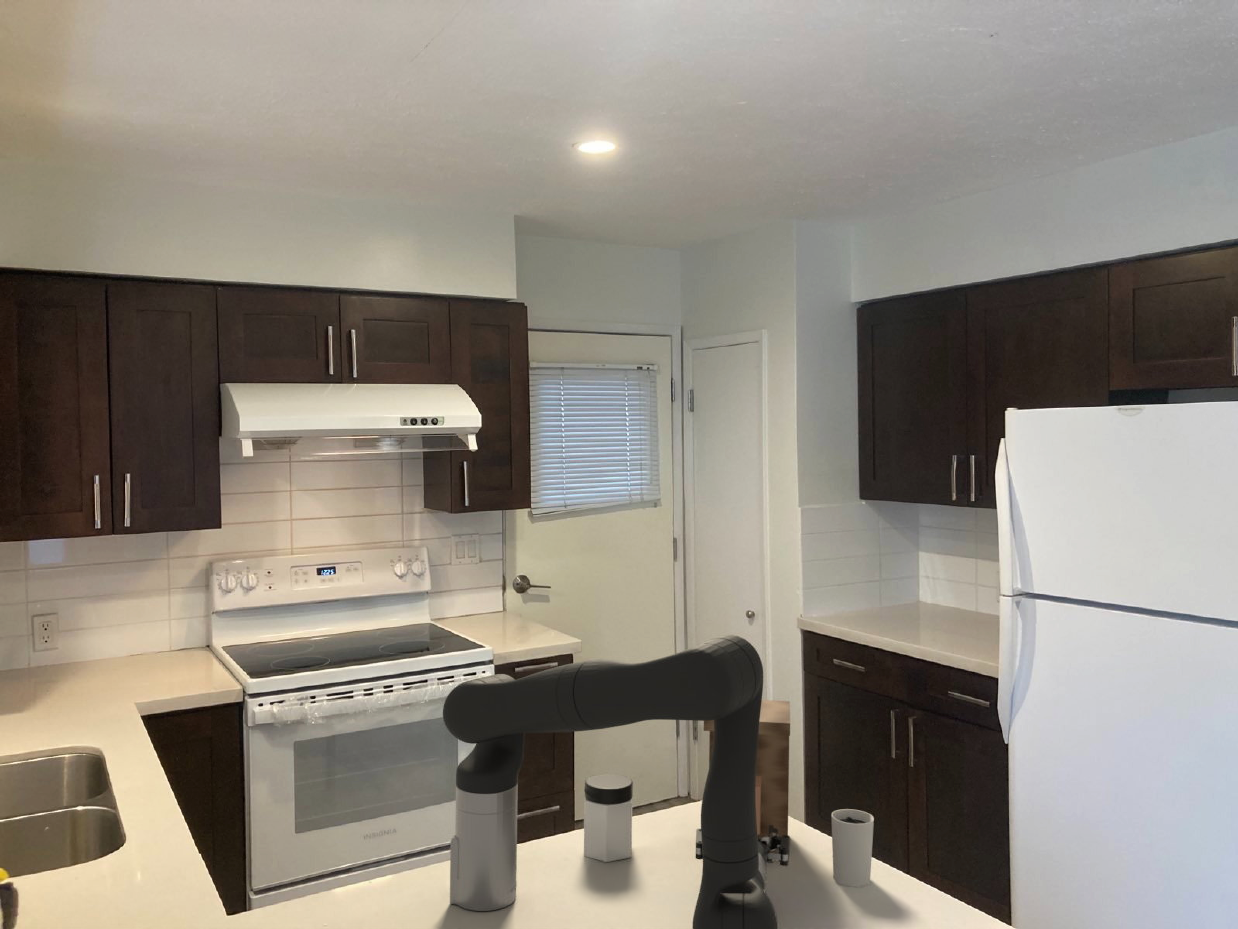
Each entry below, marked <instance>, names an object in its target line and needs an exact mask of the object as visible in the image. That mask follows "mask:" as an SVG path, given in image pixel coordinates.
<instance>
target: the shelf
mask: <svg viewBox="0 0 1238 929" xmlns="http://www.w3.org/2000/svg"><path fill="white" fill-rule="evenodd" d="M790 702H791V701H789V700H788V701H787V700H772V699H771V700H769V699H762V702H761V711H760V721H759V734H758V747H757V762H756V776H761V828H760V834H761V833H763V834H766V835H767V834H769V825H773V828H777V829H778V836H779V837H782V835H788V836H789V792H790V791H789V787H790V786H789V785H790V784H789V780H790V779H789V774H790V736H791V705H790V704H791V703H790ZM703 731H704V732H709V745H708V746H709V749H708V752H709V755H708V758H709V759H708V768H709V767H710V762H711V757H712V750H713V742H714V720H708V721H703ZM773 862H774V860H773V859H770V861H769V862H768V863H769V864H770V863H771V864H772V863H773Z"/></svg>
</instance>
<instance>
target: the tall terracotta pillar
mask: <svg viewBox="0 0 1238 929" xmlns="http://www.w3.org/2000/svg"><path fill="white" fill-rule="evenodd" d="M756 821H757V835H759V834H760V828H761V776H756Z"/></svg>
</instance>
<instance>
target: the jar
mask: <svg viewBox="0 0 1238 929" xmlns="http://www.w3.org/2000/svg"><path fill="white" fill-rule="evenodd" d="M633 785H634V782H633V780H632V779H631V778H629V777H628V776H626V775H621V774H616V773H604V774H601V773H600V774H595V775H592V776H590V777H587V779H585V780H584V786H583V787H584V807H583V808H584V811H583V812H584V814H583V856H584V857H587V858H588V859H589V858H590V859H594V860H598V861H601V862H603V863H610V862H615V861H616V862H617V861H620V860H625V859H626V860H627V859H630V858H631V855H632V847H633V845H632V843H633V797H634V796H633V795H634V794H633V792H634V790H633V788H634V786H633Z"/></svg>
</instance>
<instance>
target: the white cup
mask: <svg viewBox="0 0 1238 929" xmlns="http://www.w3.org/2000/svg"><path fill="white" fill-rule="evenodd" d="M874 820H875V817H874V816H873V815H872V814H871V813H868V812H866V811H864V810H860V809H859V810H858V809H851V808H850V809H849V808H845V809H844V808H843V809H837V810H834V811H832V812H831V840H832V841H831V844H832V848H831V849H832V872H833V873H832V874H833V878H832V879H833V880H834V881H835V882H836V883H837V884H840V885H841V886H842V885H843V886H846V887H853V888H859V887H861V888H862V887H866V886H868V885H869V884H870V883H871V876H872V875H871V872H872V858H873V856H872V854H873V839H874V838H873V837H874V825H875V824H874Z"/></svg>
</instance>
